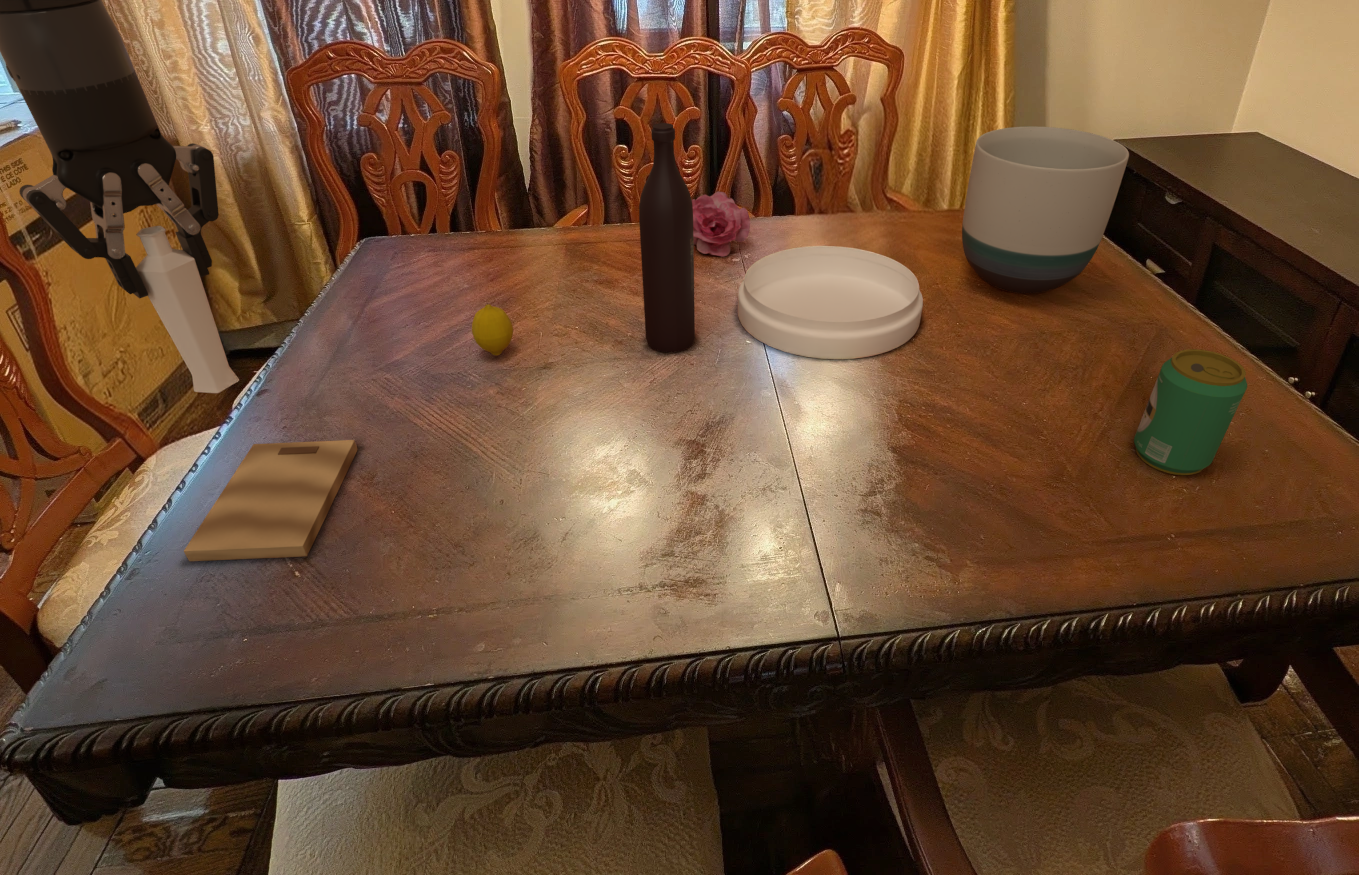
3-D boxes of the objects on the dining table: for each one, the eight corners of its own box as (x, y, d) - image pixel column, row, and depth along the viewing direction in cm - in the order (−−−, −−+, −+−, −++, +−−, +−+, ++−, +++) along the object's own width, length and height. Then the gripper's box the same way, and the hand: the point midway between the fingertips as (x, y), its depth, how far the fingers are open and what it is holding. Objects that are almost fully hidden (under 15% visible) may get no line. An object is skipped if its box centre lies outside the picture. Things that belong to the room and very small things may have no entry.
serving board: (307, 556, 82) (302, 544, 81) (188, 561, 82) (182, 549, 81) (357, 449, 96) (354, 438, 95) (257, 453, 96) (252, 442, 95)
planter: (923, 277, 130) (946, 142, 117) (1005, 247, 138) (1035, 118, 126) (1029, 327, 116) (1069, 180, 103) (1114, 290, 125) (1160, 150, 112)
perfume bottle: (253, 370, 77) (194, 220, 68) (226, 396, 74) (160, 241, 65) (209, 367, 78) (145, 218, 69) (180, 392, 74) (108, 239, 65)
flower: (732, 275, 140) (705, 239, 132) (694, 263, 146) (666, 227, 139) (768, 224, 141) (743, 185, 133) (729, 214, 147) (703, 176, 140)
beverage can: (1138, 427, 96) (1172, 339, 89) (1214, 449, 92) (1256, 359, 85) (1124, 461, 91) (1159, 371, 84) (1203, 486, 87) (1247, 394, 80)
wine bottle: (701, 349, 113) (699, 130, 95) (653, 357, 112) (641, 137, 94) (687, 326, 119) (682, 115, 101) (640, 333, 117) (628, 121, 99)
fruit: (512, 341, 116) (504, 291, 112) (520, 359, 112) (511, 308, 108) (474, 348, 115) (464, 298, 110) (480, 367, 111) (469, 315, 106)
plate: (958, 331, 115) (966, 297, 112) (799, 378, 106) (801, 343, 103) (849, 262, 135) (852, 231, 132) (706, 297, 126) (706, 265, 123)
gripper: (-25, 103, 53) (97, 330, 63) (195, 60, 61) (271, 267, 71) (-54, 86, 57) (66, 301, 67) (156, 48, 65) (234, 245, 76)
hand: (171, 282), depth 69 cm, fingers closed on perfume bottle, 4 cm apart
